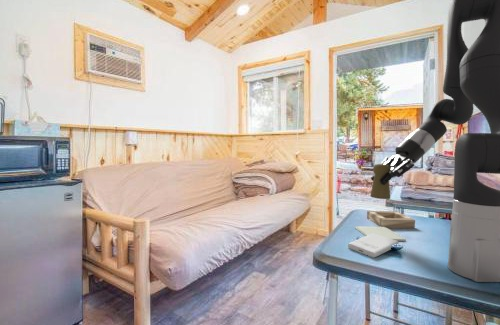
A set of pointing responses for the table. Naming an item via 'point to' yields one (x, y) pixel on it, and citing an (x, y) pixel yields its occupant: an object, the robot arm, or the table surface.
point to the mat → (380, 232)
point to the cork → (377, 187)
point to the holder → (391, 219)
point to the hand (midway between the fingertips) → (377, 181)
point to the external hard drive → (372, 245)
